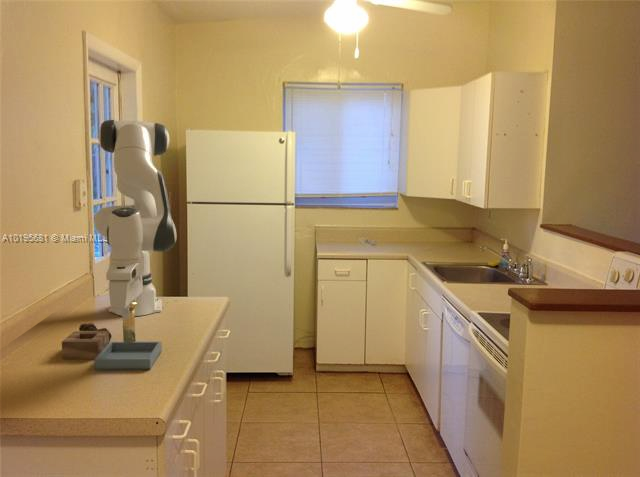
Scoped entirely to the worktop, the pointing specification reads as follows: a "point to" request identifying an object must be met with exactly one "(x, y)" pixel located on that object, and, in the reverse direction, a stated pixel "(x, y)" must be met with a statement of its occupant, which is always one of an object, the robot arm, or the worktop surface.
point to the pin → (130, 325)
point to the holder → (84, 344)
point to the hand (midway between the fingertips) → (128, 316)
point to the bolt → (92, 329)
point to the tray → (128, 356)
